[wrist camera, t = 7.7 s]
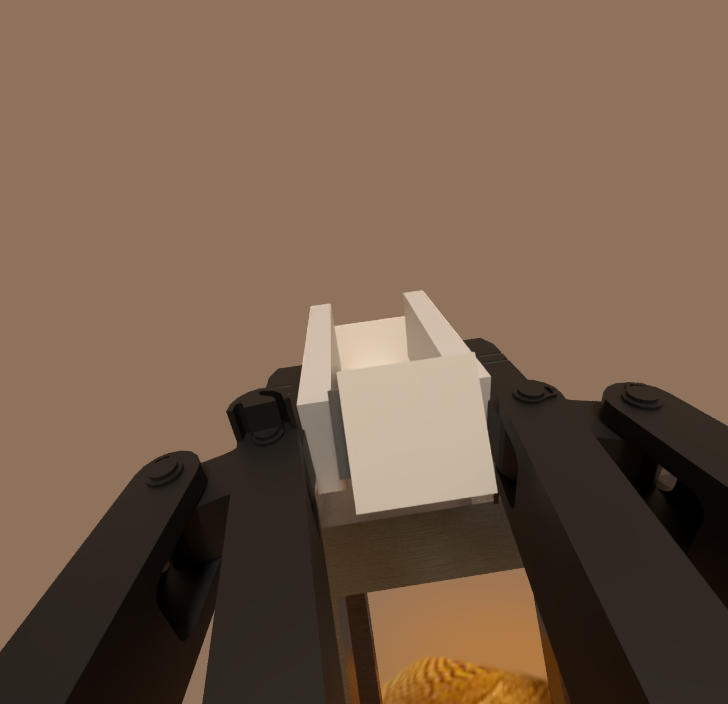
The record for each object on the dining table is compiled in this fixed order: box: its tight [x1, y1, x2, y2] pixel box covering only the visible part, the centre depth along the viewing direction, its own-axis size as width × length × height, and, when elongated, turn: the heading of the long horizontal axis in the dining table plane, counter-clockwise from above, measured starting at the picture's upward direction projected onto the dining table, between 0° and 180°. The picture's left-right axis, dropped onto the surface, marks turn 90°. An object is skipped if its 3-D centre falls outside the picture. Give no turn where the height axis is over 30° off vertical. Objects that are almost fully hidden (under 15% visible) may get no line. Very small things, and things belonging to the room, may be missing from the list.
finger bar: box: [327, 316, 498, 515], centre depth 16 cm, size 19×5×5 cm, turn 1°
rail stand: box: [315, 459, 677, 704], centre depth 25 cm, size 20×22×31 cm
